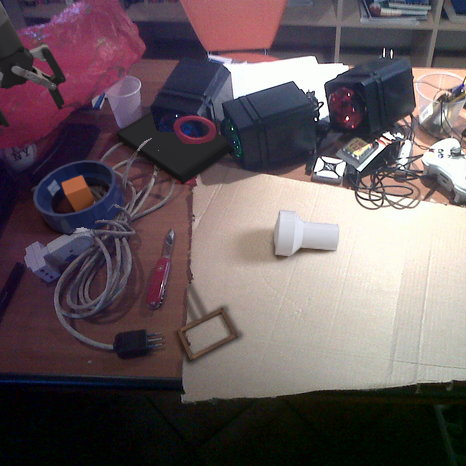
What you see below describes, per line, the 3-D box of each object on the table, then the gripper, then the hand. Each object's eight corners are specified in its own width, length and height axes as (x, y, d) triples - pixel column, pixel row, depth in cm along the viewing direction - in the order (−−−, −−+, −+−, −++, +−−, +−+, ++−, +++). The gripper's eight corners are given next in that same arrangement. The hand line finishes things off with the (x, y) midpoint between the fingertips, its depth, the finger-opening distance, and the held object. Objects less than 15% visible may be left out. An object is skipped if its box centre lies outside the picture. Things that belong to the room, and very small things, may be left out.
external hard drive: (184, 187, 100) (181, 176, 98) (120, 142, 111) (116, 132, 109) (235, 151, 107) (232, 141, 105) (170, 113, 117) (166, 102, 115)
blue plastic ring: (56, 248, 91) (41, 228, 87) (41, 199, 100) (27, 178, 95) (134, 216, 96) (124, 195, 91) (114, 172, 104) (103, 150, 100)
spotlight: (273, 223, 91) (277, 200, 84) (333, 228, 92) (342, 206, 85) (271, 262, 87) (275, 241, 80) (333, 267, 88) (342, 247, 81)
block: (78, 216, 96) (65, 195, 91) (74, 204, 98) (61, 182, 93) (98, 208, 97) (86, 186, 92) (93, 196, 99) (81, 174, 95)
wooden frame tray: (192, 364, 75) (190, 360, 74) (157, 286, 85) (154, 281, 83) (239, 339, 77) (238, 335, 76) (199, 266, 87) (197, 261, 86)
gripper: (26, -3, 73) (72, 91, 85) (-78, 23, 69) (-15, 118, 81) (35, 16, 68) (82, 112, 81) (-76, 46, 64) (-9, 143, 77)
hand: (33, 115), depth 81 cm, fingers open, 8 cm apart
